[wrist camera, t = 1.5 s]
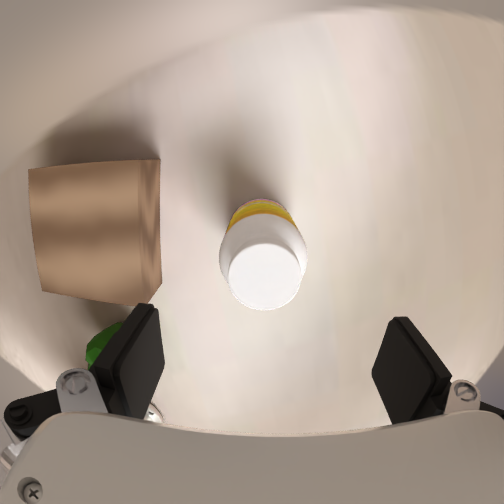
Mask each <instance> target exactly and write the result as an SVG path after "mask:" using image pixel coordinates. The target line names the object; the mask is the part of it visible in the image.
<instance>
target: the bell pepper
mask: <svg viewBox="0 0 504 504" xmlns="http://www.w3.org/2000/svg"><path fill="white" fill-rule="evenodd" d="M122 325H123V323H116V324H114V325H112V326H110V327H108V328H106V329H105V330H103V331H102V332H100V333H99V334H97V335H96V336H94V337H93V338H92V340H91V341H90V342H89V343H88V344H87V350H86V361H87V362H88V363H89V364H88V370H89V368H90V367H91V365H92V364H93V362H94V361H95V360H96V358H97V357H98V355H99V354H100V352H101V351H102V350H103V348H104V347H105V345H106V344H107V343H108V341H109V340H110V338H111V337H112V336H113V334H114V333H115V332H117V331H118V330H119V329H120V327H121V326H122Z"/></svg>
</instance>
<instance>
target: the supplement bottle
mask: <svg viewBox="0 0 504 504" xmlns="http://www.w3.org/2000/svg"><path fill="white" fill-rule="evenodd" d="M307 260H308V254H307V247H306V244H305V241H304V239H303V237H302V235H301V233H300V232H299V230H298V228H297V227H296V225H295V223H294V221H293V220H292V218H291V216H290V215H289V213H288V212H287V210H286V209H285V208H284V207H283V206H281V205H280V204H278V203H277V202H275V201H272V200H268V199H255V200H251V201H248V202H246V203H245V204H243V205H242V206H240V207H239V208H238V209H237V210H236V212H235V213H234V215H233V216H232V218H231V221H230V223H229V226H228V228H227V231H226V233H225V236H224V238H223V241H222V243H221V247H220V252H219V263H220V268H221V272H222V274H223V276H224V278H225V280H226V281H227V283H228V284H229V288H230V290H231V292H232V294H233V295H234V297H235V298H236V299H237V300H238V301H239V302H240V303H242V304H243V305H245V306H247V307H249V308H252V309H255V310H273V309H276V308H279V307H281V306H283V305H285V304H287V303H288V302H289V301H290V300H291V299H292V298H293V297H294V296H295V295H296V293H297V291H298V289H299V287H300V283H301V279H302V277H303V275H304V273H305V270H306V267H307Z"/></svg>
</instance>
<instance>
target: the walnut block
mask: <svg viewBox="0 0 504 504" xmlns="http://www.w3.org/2000/svg"><path fill="white" fill-rule="evenodd" d="M28 175H29V201H30V215H31V225H32V234H33V242H34V249H35V255H36V261H37V267H38V272H39V277H40V282H41V287H42V291H45V292H50V293H55V294H60V295H66V296H71V297H77V298H83V299H89V300H95V301H102V302H108V303H115V304H122V305H129V306H137V304H138V303H146V304H148V302H149V301H150V299H151V298H152V296H153V295H154V294H155V292H156V291H157V289H158V288H159V287H160V285H161V284H162V272H161V251H160V159H152V160H122V161H104V162H90V163H79V164H68V165H59V166H50V167H42V168H35V169H28Z"/></svg>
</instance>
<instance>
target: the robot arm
mask: <svg viewBox="0 0 504 504" xmlns="http://www.w3.org/2000/svg"><path fill="white" fill-rule="evenodd" d="M164 365H165V360H164V353H163V346H162V338H161V330H160V322H159V312H158V309H157V308H154V306H153V304H146V303H138V304H137V306H136V307H135V308H134V310H133V311H132V312H131V314H130V315H129V316H128V318H127V319H126V320H125V322H124V323H123V325H122V326H121V327H120V329H119V330H118V331H117V332H115V333H114V334H113V336H112V337H111V338H110V340H109V341H108V343H107V344H106V345H105V347H104V348H103V350H102V351H101V352H100V354H99V355H98V357H97V358H96V360H95V361H94V362H93V364H92V365H91V367H90V368H89V370H85V369H80V368H75V369H70V370H67V371H65V372H64V373H62V374H61V375H60V376H59V377H58V379H57V382H56V389H54V390H50V391H47V392H44V393H40V394H36V395H33V396H29V397H25V398H21V399H17V400H15V401H13V402H11V403H10V404H9V405H8V406H7V407H6V409H5V412H4V417H3V418H0V504H504V410H501V409H499V408H496V407H494V406H491V405H488V404H486V403H484V402H481V401H480V391H479V389H478V388H477V387H476V386H475V385H474V384H473V383H471V382H469V381H467V380H456V381H454V382H453V383H451V382H450V379H451V377H452V375H451V373H450V372H449V370H448V369H447V368H446V366H445V365H444V364H443V362H442V361H441V359H440V358H439V357H438V355H437V354H436V353H435V351H434V350H433V349H432V347H431V346H430V345H429V344H428V342H427V341H426V340H425V338H424V337H423V336H422V334H421V333H420V332H419V331H418V329H417V328H416V327H415V326H414V324H413V323H412V322H411V321H410V319H409V318H408V317H394V318H393V319H392V320H391V321H389V323H388V326H387V329H386V332H385V335H384V338H383V341H382V344H381V347H380V350H379V352H378V355H377V358H376V360H375V363H374V366H373V368H372V378H373V380H374V382H375V385H376V387H377V389H378V392H379V394H380V396H381V399H382V401H383V403H384V406H385V408H386V410H387V413H388V415H389V418H390V420H391V422H392V425H387V426H381V427H374V428H366V429H358V430H349V431H338V432H324V433H303V434H263V433H241V432H227V431H216V430H207V429H198V428H191V427H184V426H177V425H170V424H164V421H163V418H162V416H161V414H160V413H159V412H158V410H157V409H156V408H155V407H154V406H153V405H151V404H150V402H151V399H152V397H153V394H154V392H155V389H156V387H157V384H158V382H159V379H160V377H161V374H162V372H163V369H164Z"/></svg>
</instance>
